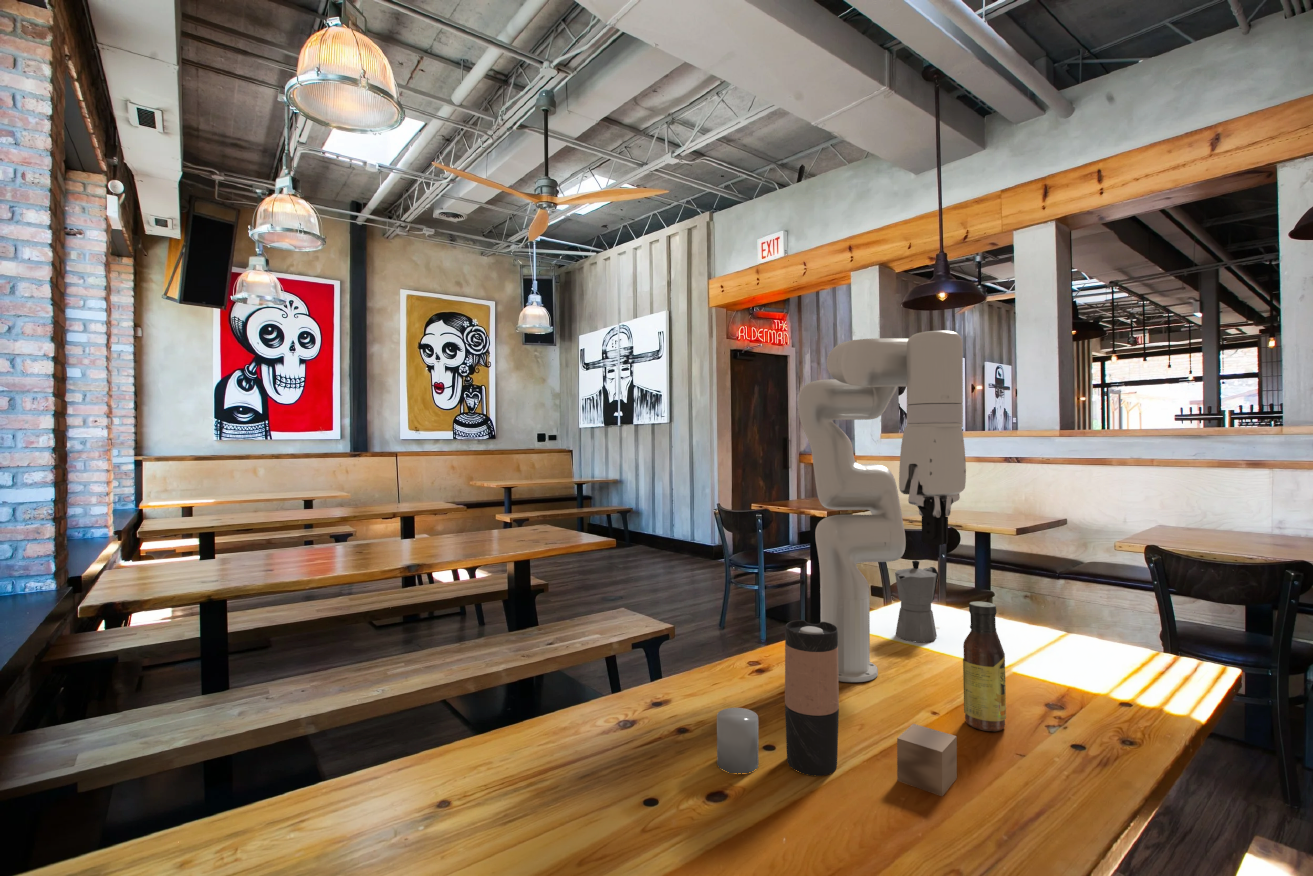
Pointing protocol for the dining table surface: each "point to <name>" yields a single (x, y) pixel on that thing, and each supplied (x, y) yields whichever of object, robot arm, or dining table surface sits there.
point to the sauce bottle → (984, 671)
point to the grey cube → (927, 759)
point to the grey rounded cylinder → (737, 740)
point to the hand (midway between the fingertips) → (934, 543)
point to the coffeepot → (916, 603)
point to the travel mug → (811, 697)
